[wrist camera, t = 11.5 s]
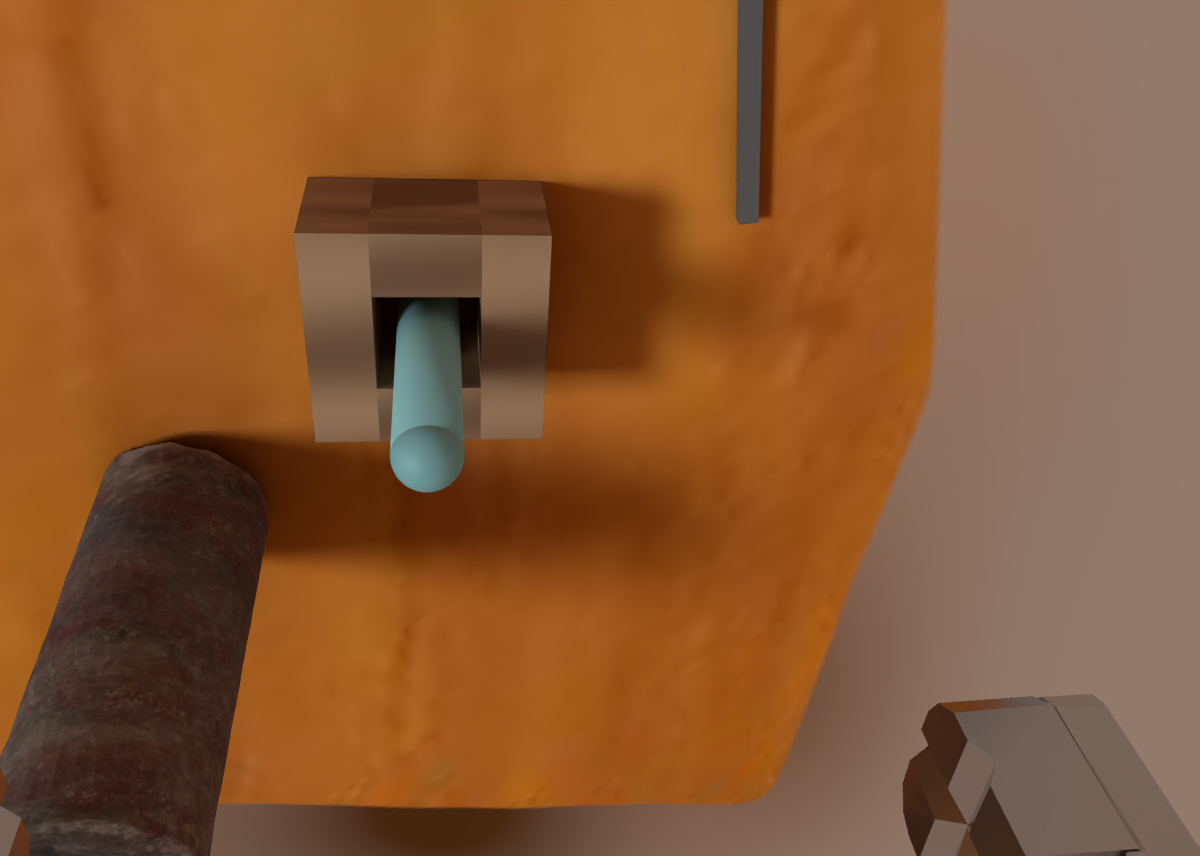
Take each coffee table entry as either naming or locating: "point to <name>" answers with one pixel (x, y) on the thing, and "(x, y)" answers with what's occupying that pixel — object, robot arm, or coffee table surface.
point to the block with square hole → (424, 269)
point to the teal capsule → (427, 394)
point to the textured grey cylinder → (141, 662)
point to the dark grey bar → (749, 109)
